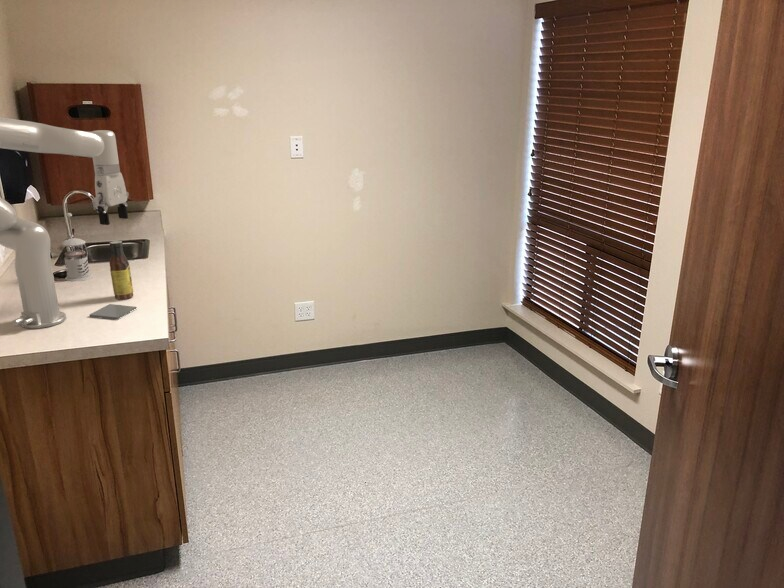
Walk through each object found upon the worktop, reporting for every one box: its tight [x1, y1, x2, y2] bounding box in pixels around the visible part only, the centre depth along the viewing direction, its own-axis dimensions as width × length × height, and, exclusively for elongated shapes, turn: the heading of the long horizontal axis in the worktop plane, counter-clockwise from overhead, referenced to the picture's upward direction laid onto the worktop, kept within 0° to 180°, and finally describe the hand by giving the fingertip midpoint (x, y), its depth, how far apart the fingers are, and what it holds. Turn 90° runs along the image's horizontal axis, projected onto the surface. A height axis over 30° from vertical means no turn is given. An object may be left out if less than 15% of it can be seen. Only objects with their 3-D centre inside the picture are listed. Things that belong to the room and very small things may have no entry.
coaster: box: [89, 303, 138, 320], centre depth 194 cm, size 10×10×1 cm
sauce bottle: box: [109, 240, 134, 301], centre depth 205 cm, size 7×6×20 cm
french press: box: [61, 212, 94, 282], centre depth 224 cm, size 10×12×25 cm
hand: (114, 221), depth 199 cm, fingers open, 9 cm apart
